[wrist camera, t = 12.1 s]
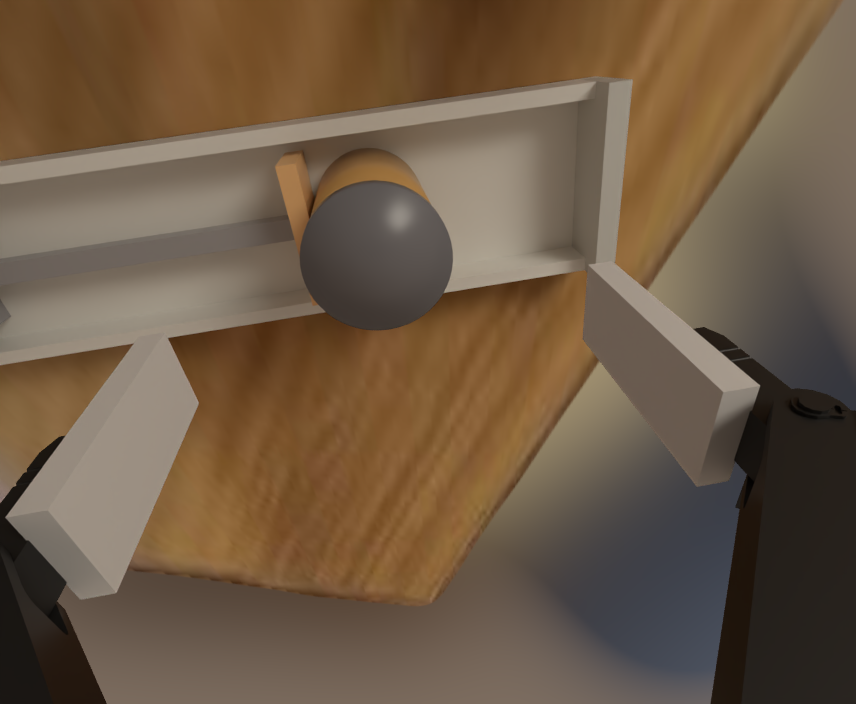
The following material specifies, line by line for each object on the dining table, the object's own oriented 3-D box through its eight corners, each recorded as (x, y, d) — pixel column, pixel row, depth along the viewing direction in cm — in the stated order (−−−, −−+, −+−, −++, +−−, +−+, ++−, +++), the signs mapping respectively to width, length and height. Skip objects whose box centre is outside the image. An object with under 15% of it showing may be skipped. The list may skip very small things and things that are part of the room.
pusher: (-158, 217, 26) (-235, 241, 22) (302, 150, 27) (295, 163, 24) (-64, 339, 30) (-118, 375, 26) (332, 276, 31) (330, 303, 28)
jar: (302, 154, 27) (281, 197, 19) (418, 138, 28) (445, 173, 19) (328, 264, 31) (319, 340, 22) (430, 248, 31) (458, 317, 23)
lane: (-133, 180, 26) (-241, 207, 21) (596, 76, 28) (645, 80, 23) (-14, 348, 31) (-78, 399, 27) (585, 252, 33) (623, 284, 29)
